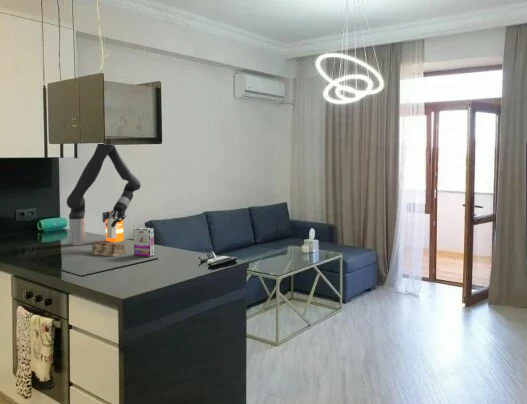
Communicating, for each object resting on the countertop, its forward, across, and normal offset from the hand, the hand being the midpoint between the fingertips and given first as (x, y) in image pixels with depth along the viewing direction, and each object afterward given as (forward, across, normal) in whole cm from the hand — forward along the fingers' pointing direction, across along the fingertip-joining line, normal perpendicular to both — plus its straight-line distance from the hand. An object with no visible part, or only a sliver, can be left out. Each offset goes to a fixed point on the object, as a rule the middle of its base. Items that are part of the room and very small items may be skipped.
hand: (109, 226), depth 300 cm
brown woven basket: (+17, +6, +4) cm, 18 cm away
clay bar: (+4, 0, +7) cm, 8 cm away
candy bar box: (+14, +29, +7) cm, 33 cm away
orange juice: (-7, -16, +28) cm, 34 cm away
